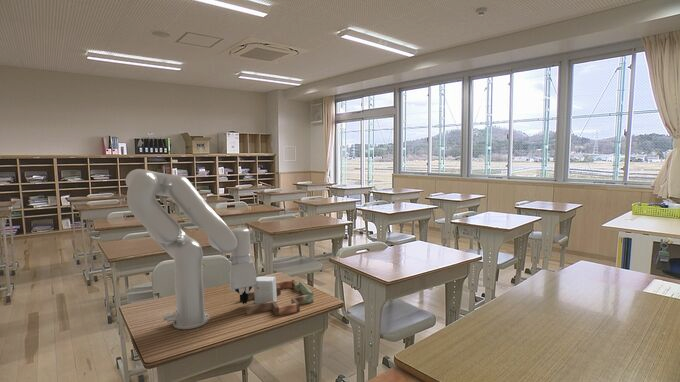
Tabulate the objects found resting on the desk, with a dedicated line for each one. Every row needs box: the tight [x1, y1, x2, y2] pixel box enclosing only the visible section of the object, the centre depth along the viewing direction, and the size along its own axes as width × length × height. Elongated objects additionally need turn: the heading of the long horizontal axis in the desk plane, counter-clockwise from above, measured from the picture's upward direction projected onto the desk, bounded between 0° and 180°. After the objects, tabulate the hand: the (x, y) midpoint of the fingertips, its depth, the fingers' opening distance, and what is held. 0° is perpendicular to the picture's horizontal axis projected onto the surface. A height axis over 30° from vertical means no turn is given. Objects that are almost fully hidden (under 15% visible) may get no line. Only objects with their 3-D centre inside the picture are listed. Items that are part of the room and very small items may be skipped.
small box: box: [253, 276, 278, 304], centre depth 154 cm, size 8×6×10 cm
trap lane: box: [245, 279, 315, 316], centre depth 156 cm, size 27×28×4 cm
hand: (244, 302), depth 150 cm, fingers closed
